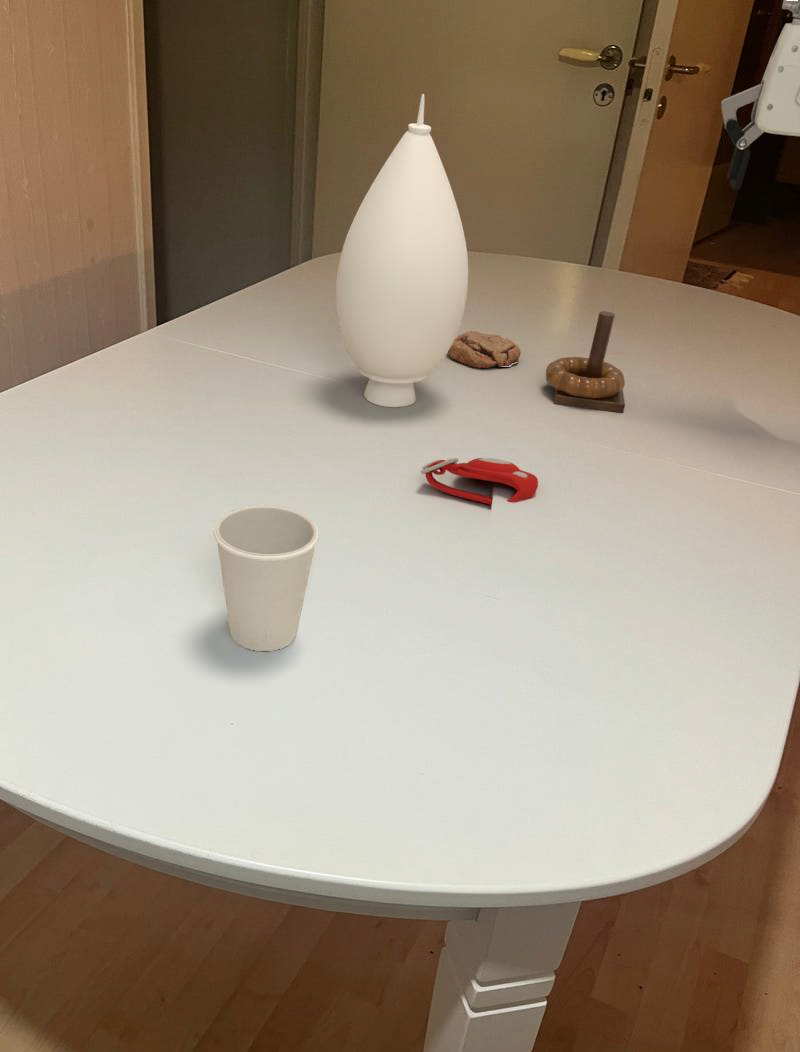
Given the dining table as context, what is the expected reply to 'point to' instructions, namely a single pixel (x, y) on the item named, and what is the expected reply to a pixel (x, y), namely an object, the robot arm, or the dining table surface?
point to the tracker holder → (483, 477)
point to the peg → (596, 370)
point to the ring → (584, 378)
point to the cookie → (484, 350)
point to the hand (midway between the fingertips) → (778, 191)
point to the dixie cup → (265, 572)
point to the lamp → (403, 272)
